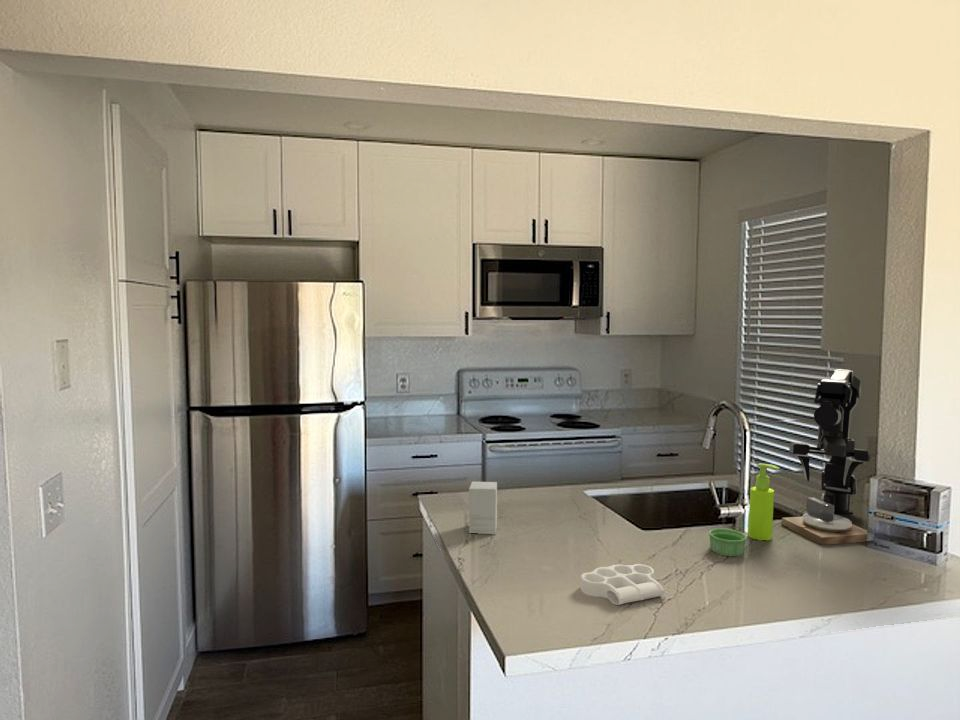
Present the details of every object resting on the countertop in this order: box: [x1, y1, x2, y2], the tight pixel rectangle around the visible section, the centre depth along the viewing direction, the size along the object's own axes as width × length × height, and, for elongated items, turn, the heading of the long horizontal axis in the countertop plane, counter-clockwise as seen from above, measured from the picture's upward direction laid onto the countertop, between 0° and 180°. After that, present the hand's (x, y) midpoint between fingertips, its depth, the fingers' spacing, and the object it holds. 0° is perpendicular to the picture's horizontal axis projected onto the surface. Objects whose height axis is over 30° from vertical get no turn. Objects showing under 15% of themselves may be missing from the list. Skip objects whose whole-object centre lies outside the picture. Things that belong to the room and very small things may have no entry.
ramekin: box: [708, 527, 748, 557], centre depth 168 cm, size 9×9×4 cm
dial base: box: [781, 515, 868, 546], centre depth 182 cm, size 16×16×2 cm
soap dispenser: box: [747, 462, 781, 541], centre depth 177 cm, size 6×7×20 cm
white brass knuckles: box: [580, 563, 666, 606], centre depth 145 cm, size 3×18×15 cm
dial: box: [802, 497, 853, 532], centre depth 182 cm, size 13×12×6 cm
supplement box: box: [468, 480, 498, 535], centre depth 181 cm, size 7×7×13 cm
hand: (826, 483), depth 179 cm, fingers open, 9 cm apart
